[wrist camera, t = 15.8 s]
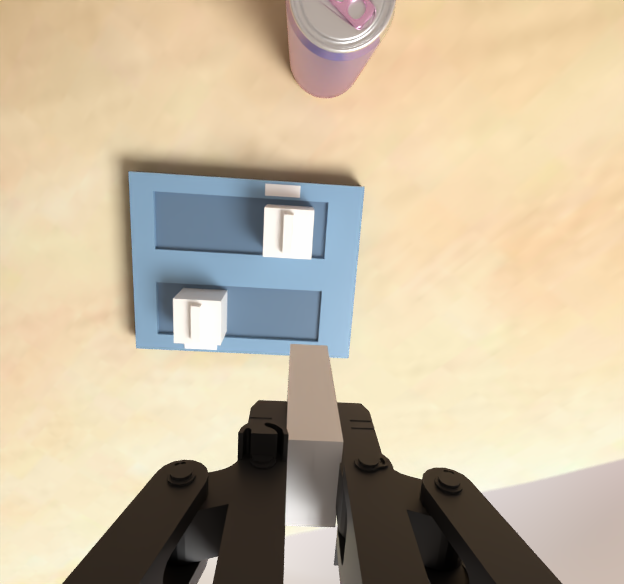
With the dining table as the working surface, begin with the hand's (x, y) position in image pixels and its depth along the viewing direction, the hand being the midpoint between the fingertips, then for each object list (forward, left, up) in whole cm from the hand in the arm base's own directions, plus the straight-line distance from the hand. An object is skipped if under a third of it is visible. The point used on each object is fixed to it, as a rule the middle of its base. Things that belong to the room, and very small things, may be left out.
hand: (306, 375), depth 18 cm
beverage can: (+1, +17, -25) cm, 30 cm away
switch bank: (-5, -1, -24) cm, 25 cm away
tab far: (-9, -5, -23) cm, 25 cm away
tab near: (-1, +3, -23) cm, 23 cm away
